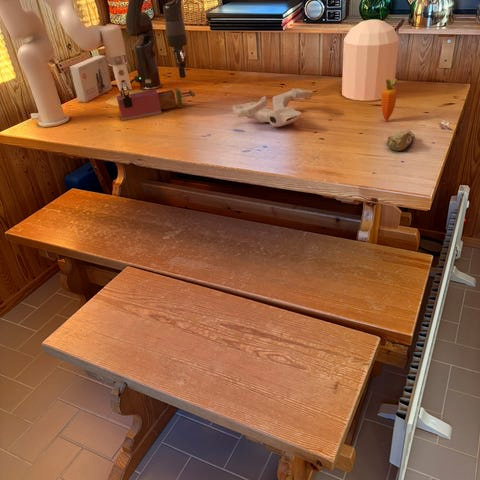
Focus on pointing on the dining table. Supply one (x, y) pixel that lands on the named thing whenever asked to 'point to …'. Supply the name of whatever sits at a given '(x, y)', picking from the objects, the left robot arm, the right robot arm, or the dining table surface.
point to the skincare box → (91, 78)
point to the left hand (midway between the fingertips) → (127, 104)
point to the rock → (400, 140)
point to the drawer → (172, 98)
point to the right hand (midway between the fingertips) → (182, 77)
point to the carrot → (388, 99)
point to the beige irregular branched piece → (280, 112)
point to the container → (369, 60)
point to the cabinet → (140, 105)
